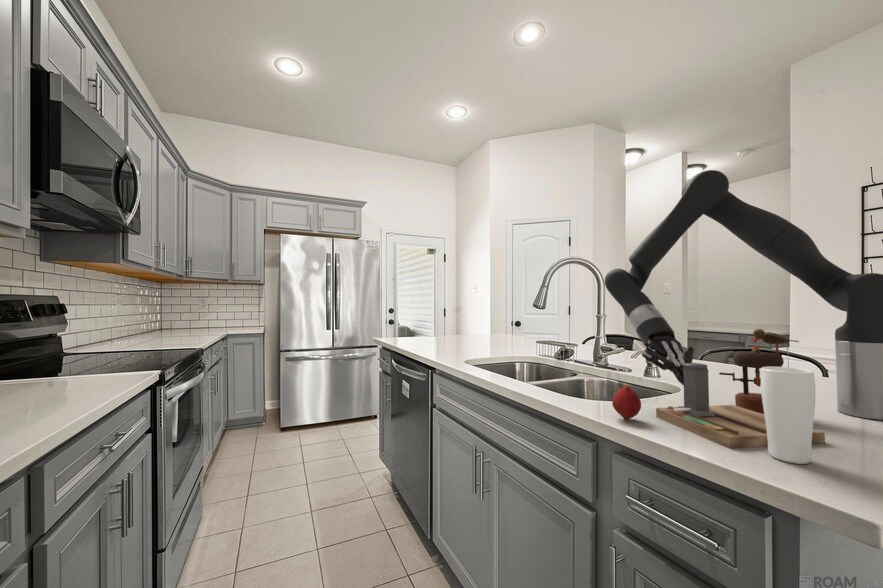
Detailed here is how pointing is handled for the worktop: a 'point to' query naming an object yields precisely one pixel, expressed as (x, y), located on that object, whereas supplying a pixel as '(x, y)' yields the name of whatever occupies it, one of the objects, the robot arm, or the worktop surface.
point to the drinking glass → (788, 412)
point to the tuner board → (727, 426)
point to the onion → (626, 402)
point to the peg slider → (696, 390)
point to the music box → (757, 368)
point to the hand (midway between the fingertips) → (688, 383)
